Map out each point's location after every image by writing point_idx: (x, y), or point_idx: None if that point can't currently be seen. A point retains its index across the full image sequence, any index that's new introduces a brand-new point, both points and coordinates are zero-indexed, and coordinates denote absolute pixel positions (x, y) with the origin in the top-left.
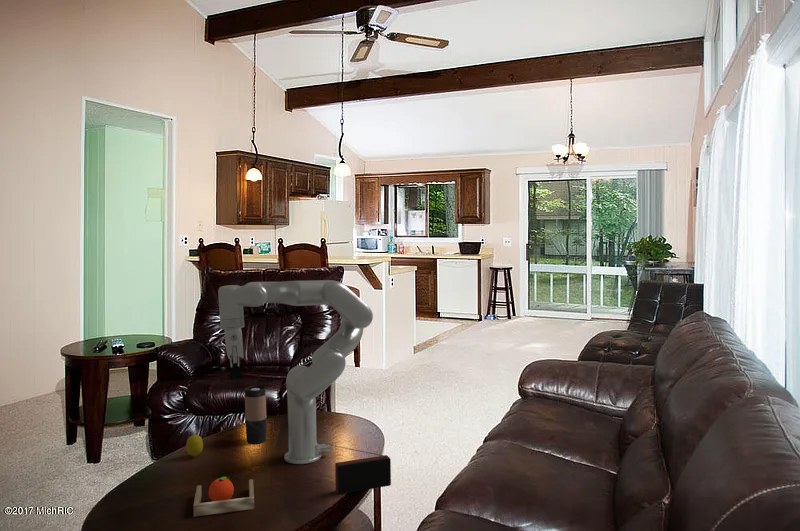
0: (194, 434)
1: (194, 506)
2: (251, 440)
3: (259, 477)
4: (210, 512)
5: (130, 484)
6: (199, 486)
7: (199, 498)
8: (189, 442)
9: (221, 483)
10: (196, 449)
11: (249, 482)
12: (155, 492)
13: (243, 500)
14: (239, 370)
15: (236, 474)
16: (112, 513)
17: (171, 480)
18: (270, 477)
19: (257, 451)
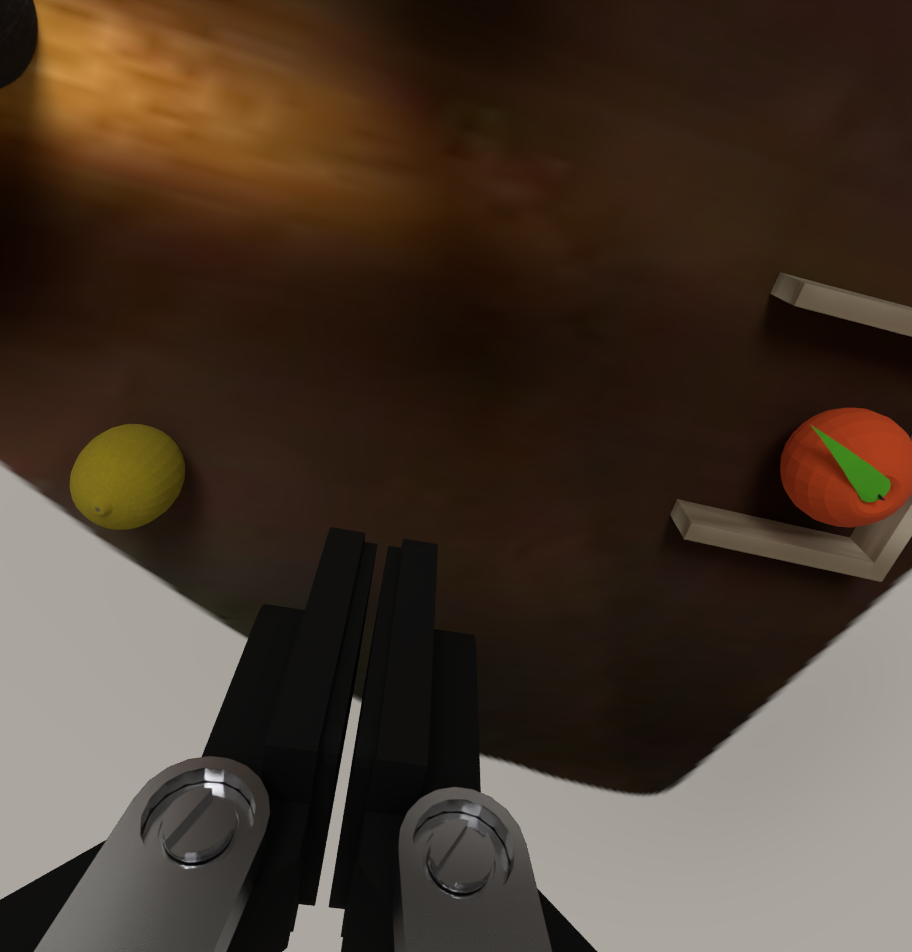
0: (101, 509)
1: (882, 576)
2: (13, 64)
3: (653, 194)
4: None
5: None
6: (702, 532)
7: (810, 545)
8: (150, 521)
9: (906, 495)
10: (181, 469)
11: (834, 313)
12: (528, 638)
13: None
14: (425, 685)
15: (530, 304)
16: (624, 752)
17: None
18: (696, 130)
19: (199, 69)
